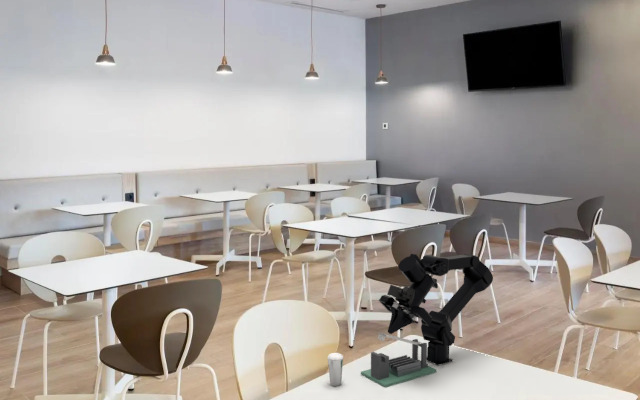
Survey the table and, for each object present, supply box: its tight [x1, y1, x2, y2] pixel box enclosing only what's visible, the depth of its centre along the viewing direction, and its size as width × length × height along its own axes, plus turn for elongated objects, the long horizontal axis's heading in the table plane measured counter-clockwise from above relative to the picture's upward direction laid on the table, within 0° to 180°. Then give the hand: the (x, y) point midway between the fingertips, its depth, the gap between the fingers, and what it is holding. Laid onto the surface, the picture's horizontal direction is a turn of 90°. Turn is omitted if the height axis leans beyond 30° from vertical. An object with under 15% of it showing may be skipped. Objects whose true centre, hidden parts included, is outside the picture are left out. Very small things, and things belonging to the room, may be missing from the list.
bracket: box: [411, 338, 429, 369], centre depth 189 cm, size 2×5×8 cm, turn 33°
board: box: [360, 357, 438, 388], centre depth 185 cm, size 20×12×1 cm, turn 123°
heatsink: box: [389, 354, 421, 377], centre depth 185 cm, size 9×7×3 cm
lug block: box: [370, 351, 390, 380], centre depth 180 cm, size 4×4×7 cm
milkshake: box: [327, 351, 346, 387], centre depth 177 cm, size 4×5×10 cm
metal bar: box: [377, 331, 423, 348], centre depth 184 cm, size 17×2×2 cm, turn 124°
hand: (389, 333), depth 181 cm, fingers closed
